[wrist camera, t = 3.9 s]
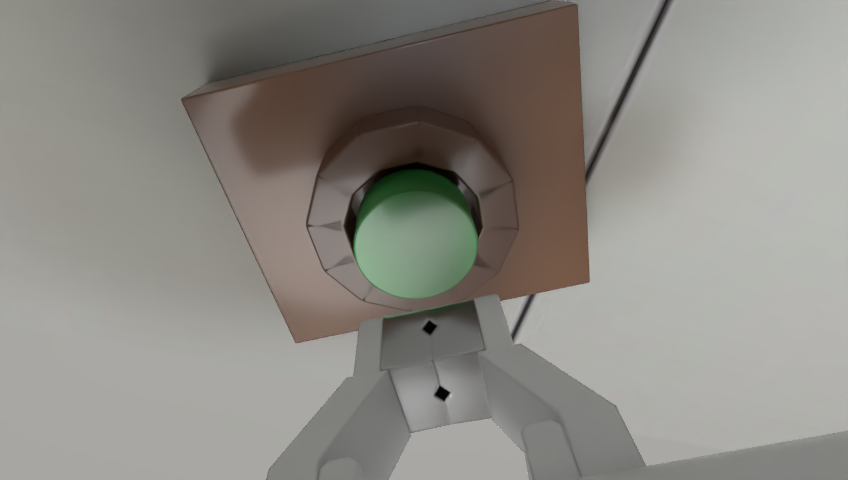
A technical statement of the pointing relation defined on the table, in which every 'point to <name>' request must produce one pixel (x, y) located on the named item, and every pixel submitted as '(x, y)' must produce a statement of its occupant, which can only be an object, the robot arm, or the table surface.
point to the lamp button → (414, 234)
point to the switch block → (408, 159)
